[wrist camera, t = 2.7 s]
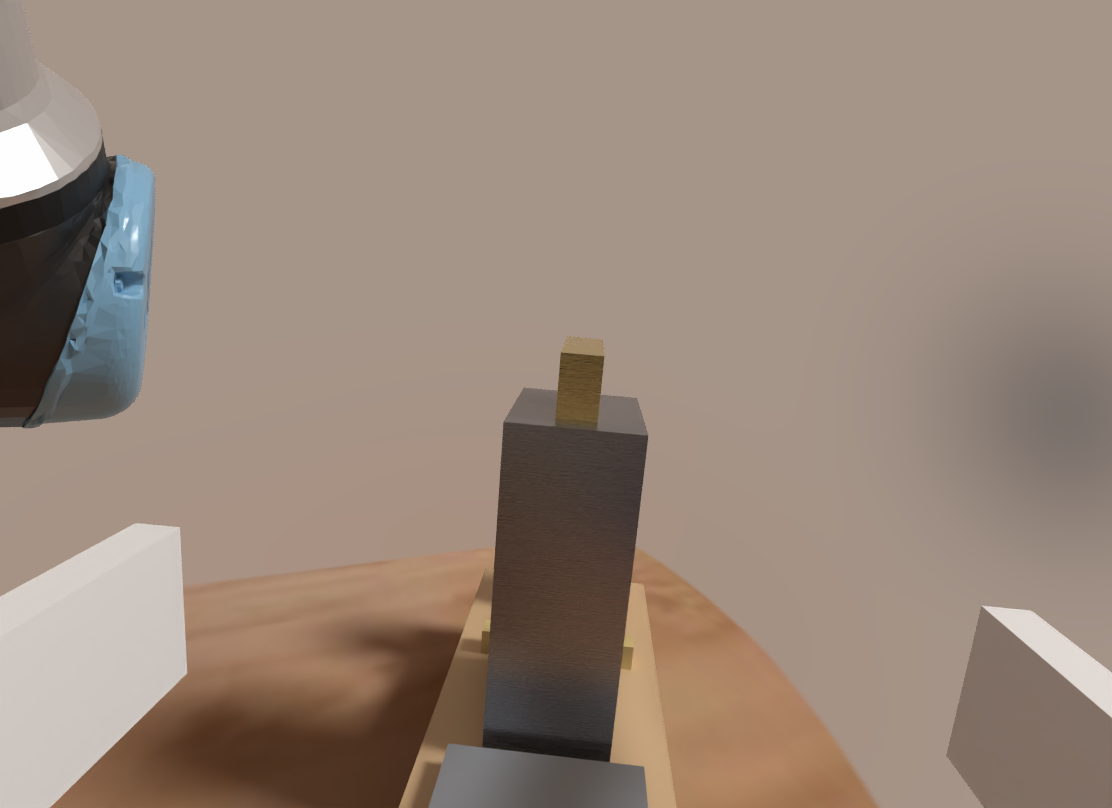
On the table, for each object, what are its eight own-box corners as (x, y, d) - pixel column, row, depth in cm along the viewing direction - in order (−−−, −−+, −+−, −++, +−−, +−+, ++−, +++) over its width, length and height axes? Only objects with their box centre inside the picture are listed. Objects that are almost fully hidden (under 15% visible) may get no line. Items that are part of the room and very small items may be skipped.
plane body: (351, 1059, 15) (357, 663, 13) (481, 637, 33) (494, 435, 31) (679, 1105, 15) (746, 707, 13) (634, 654, 33) (659, 451, 30)
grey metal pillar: (481, 759, 20) (508, 350, 17) (504, 662, 25) (528, 331, 22) (608, 774, 20) (656, 363, 17) (605, 673, 25) (643, 341, 22)
